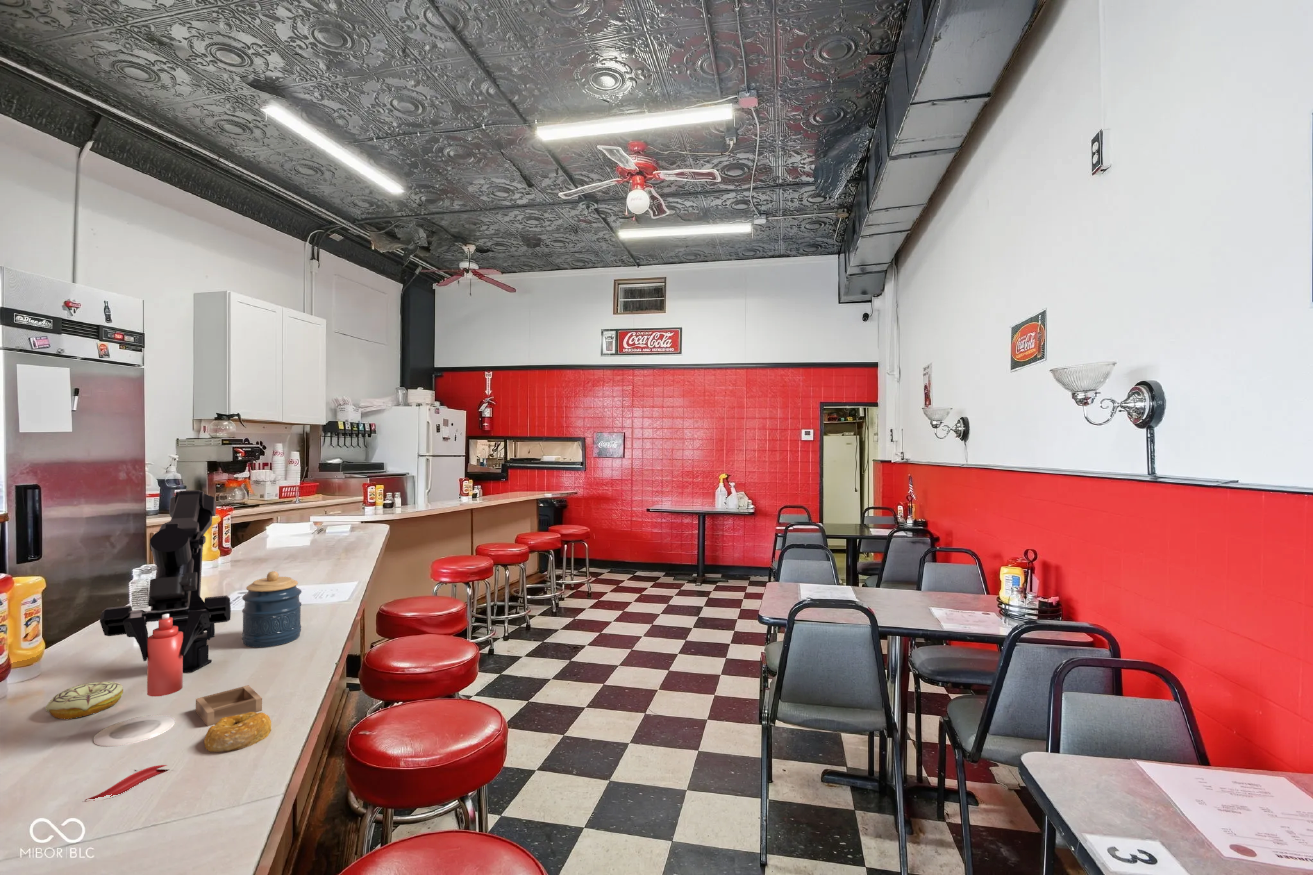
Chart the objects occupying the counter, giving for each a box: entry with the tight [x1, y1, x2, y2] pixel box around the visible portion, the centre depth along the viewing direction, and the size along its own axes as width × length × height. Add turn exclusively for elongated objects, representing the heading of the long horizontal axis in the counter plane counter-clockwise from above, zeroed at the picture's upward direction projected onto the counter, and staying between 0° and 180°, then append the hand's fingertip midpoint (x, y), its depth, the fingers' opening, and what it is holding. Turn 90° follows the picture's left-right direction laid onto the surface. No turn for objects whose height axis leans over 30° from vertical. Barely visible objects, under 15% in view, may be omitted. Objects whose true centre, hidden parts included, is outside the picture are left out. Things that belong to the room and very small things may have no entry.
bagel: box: [203, 711, 272, 753], centre depth 107 cm, size 10×11×5 cm
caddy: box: [195, 685, 263, 727], centre depth 117 cm, size 9×9×3 cm
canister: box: [241, 570, 303, 648], centre depth 158 cm, size 13×13×18 cm
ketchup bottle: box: [146, 614, 184, 697], centre depth 110 cm, size 5×5×14 cm
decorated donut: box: [45, 681, 124, 720], centre depth 118 cm, size 10×11×4 cm
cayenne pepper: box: [85, 764, 169, 800], centre depth 93 cm, size 12×5×2 cm, turn 139°
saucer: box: [93, 714, 176, 747], centre depth 109 cm, size 11×11×1 cm
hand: (163, 657), depth 109 cm, fingers closed on ketchup bottle, 5 cm apart
